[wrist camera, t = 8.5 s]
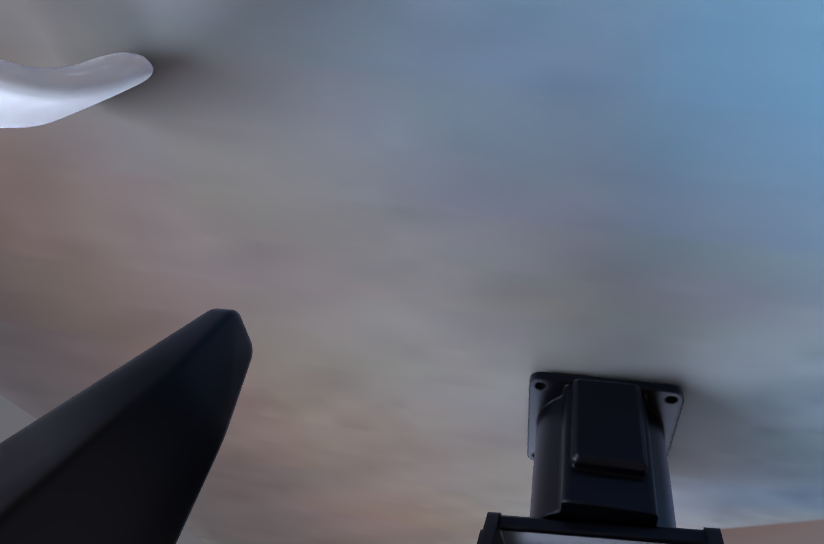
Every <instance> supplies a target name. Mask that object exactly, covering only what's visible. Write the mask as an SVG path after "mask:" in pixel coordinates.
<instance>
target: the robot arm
mask: <svg viewBox="0 0 824 544" xmlns="http://www.w3.org/2000/svg"><path fill="white" fill-rule="evenodd" d="M251 358H252V344H251V341H250V338H249V336H248V333H247V331H246V328H245V326H244V324H243V321H242V319H241V316H240V315H239V313H237V312H236V311H234V310H228V309H212V310H209V311H208V312H206V313H204V314H203V315H201V316H200V317H198V318H197V319H195V320H193V321H192V322H190V323H189V324H187V325H186V326H184V327H182V328H181V329H179V330H178V331H176V332H175V333H173V334H171V335H170V336H168V337H167V338H165V339H164V340H162V341H160V342H159V343H157V344H156V345H154V346H153V347H151V348H149V349H148V350H146V351H145V352H143V353H142V354H140V355H138V356H137V357H135V358H134V359H132V360H131V361H129V362H127V363H126V364H124V365H123V366H121V367H120V368H118V369H116V370H115V371H113V372H112V373H110V374H109V375H107V376H105V377H104V378H102V379H101V380H99V381H98V382H96V383H94V384H93V385H91V386H90V387H88V388H87V389H85V390H83V391H82V392H80V393H79V394H77V395H76V396H74V397H72V398H71V399H69V400H68V401H66V402H64V403H63V404H61V405H60V406H58V407H57V408H55V409H53V410H52V411H50V412H49V413H47V414H46V415H44V416H42V417H41V418H39V419H38V420H36V421H35V422H33V423H32V424H30V425H28V426H27V427H25V428H24V429H22V430H20V431H19V432H17V433H16V434H14V435H13V436H11V437H9V438H8V439H6V440H5V441H3V442H2V443H1V444H0V544H176V542H177V540H178V538H179V536H180V534H181V531H182V529H183V527H184V525H185V523H186V521H187V518H188V516H189V514H190V512H191V510H192V508H193V505H194V503H195V501H196V499H197V497H198V494H199V492H200V490H201V488H202V486H203V484H204V481H205V479H206V477H207V475H208V473H209V471H210V468H211V466H212V464H213V462H214V460H215V458H216V455H217V453H218V451H219V449H220V446H221V444H222V442H223V439H224V437H225V434H226V431H227V429H228V426H229V423H230V420H231V417H232V414H233V411H234V408H235V405H236V403H237V400H238V397H239V394H240V391H241V388H242V385H243V382H244V379H245V376H246V373H247V370H248V367H249V364H250V361H251ZM539 382H542V383H539ZM683 403H684V396H683V391H682V389H681V388H679V387H678V386H674V385H667V384H657V383H647V382H637V381H626V380H616V379H606V378H596V377H586V376H576V375H566V374H556V373H546V372H536V373H533V374H532V375H531V377H530V386H529V418H528V451H527V455H528V457H529V458H530V459H532V460H534V467H533V481H532V494H531V508H530V517H519V516H506V515H502V514H501V513H496V512H488V513H487V517H486V521H485V524H484V528H483V530H482V529H481V531H480V534H479V538H478V542H477V544H724V542H723V538H722V534H721V531H720V529H719V528H705V527H704V530H697V529H683V528H676V522H675V514H674V506H673V498H672V490H671V482H670V475H669V467H668V459H667V456H668V453H669V450H670V446H671V443H672V440H673V436H674V433H675V429H676V426H677V423H678V419H679V416H680V413H681V409H682V406H683Z"/></svg>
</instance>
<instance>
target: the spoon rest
mask: <svg viewBox="0 0 824 544" xmlns="http://www.w3.org/2000/svg"><path fill="white" fill-rule="evenodd" d="M153 70H154V69H153V67H152V65H151V63H150V62H149V61H148V60H147V59H146V58H145V57H143V56H141V55H138V54H133V53H126V52H121V53H114V54H109V55H106V56H102V57H98V58H95V59H92V60H89V61H86V62H83V63H80V64H76V65H72V66H66V67H60V68H39V67H30V66H25V65H20V64H15V63H11V62H8V61H5V60H1V59H0V128H23V127H34V126H38V125H43V124H47V123H50V122H53V121H56V120H59V119H61V118H64V117H66V116H68V115H71V114H73V113H76V112H78V111H80V110H83V109H85V108H88V107H90V106H92V105H95V104H97V103H100V102H102V101H104V100H106V99H109V98H111V97H113V96H115V95H117V94H120V93H122V92H124V91H126V90H128V89H130V88H132V87H134V86H136V85H138V84H140V83H142V82H144V81H146V80H147V79H148V78H149V77H150V76H151V75H152V73H153Z"/></svg>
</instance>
